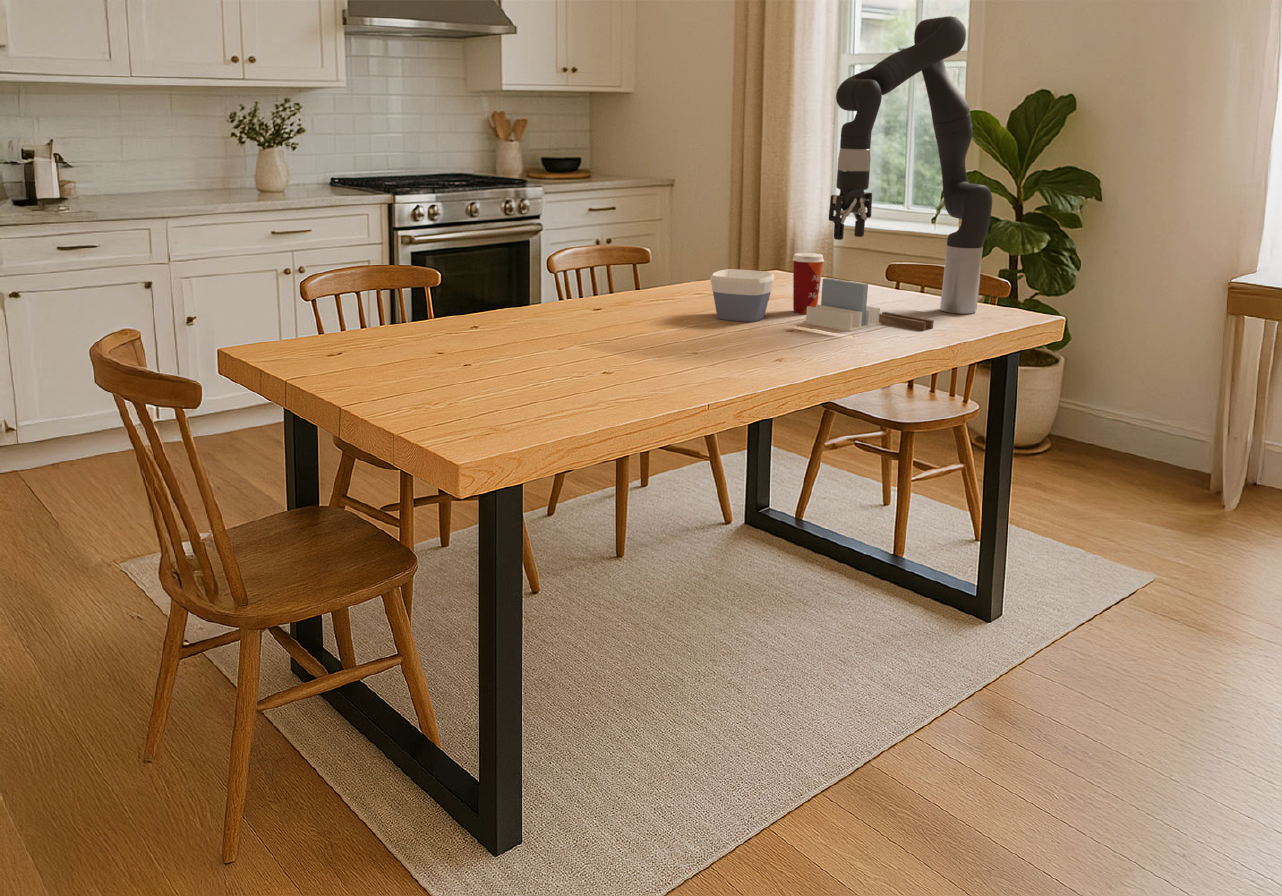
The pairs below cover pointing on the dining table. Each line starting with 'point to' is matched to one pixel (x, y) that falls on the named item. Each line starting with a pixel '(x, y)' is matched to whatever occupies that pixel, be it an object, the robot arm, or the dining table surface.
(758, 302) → the bowl
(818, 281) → the coffee cup
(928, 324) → the stand
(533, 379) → the dining table surface
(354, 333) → the dining table surface
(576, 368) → the dining table surface
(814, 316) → the rack
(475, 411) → the dining table surface
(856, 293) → the grey-blue flat slab
